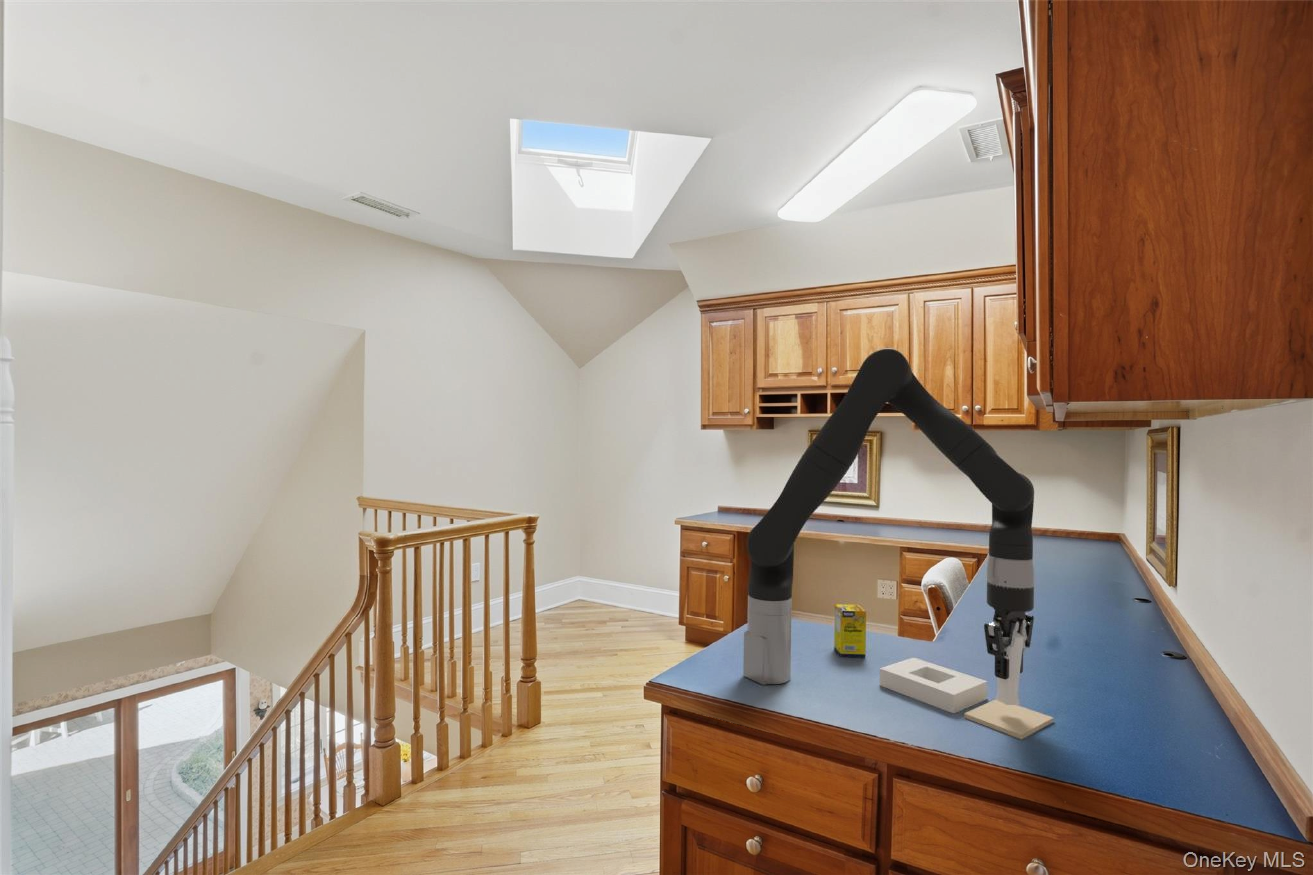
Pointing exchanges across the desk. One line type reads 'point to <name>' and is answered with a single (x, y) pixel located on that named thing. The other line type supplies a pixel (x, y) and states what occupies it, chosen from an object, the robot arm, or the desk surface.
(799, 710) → the desk surface
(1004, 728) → the mat
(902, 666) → the rectangular block
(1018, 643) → the perfume bottle
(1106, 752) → the desk surface
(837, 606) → the supplement box
